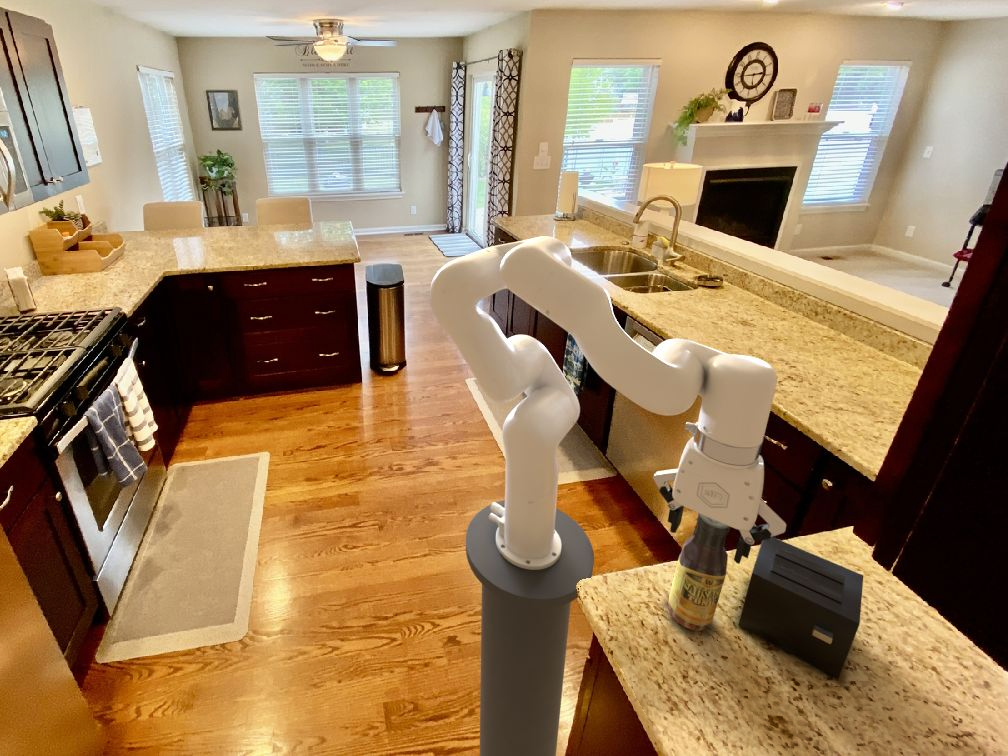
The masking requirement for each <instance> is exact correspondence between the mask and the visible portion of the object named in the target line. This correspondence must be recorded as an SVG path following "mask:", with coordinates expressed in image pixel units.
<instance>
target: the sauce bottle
mask: <svg viewBox="0 0 1008 756" xmlns="http://www.w3.org/2000/svg"><path fill="white" fill-rule="evenodd" d="M696 521H697V526H696V529H695V531H694V535H691V536H689V537H688V538H687V539H685V541H683V544H682V548H681V552H680V554H679V556H678V560H677V562H676V563H677V564H676V567H675V571H674V574H673V575H674V576H673V579H672V582H671V587H670V590H669V595H668V612H669V613H670V616H671V617H672V618H673V619H674V620H675V621H676V623H678V624H679V625H681V626H683V628H686V629H688V630H690V631H691V630H692V631H694V632H696V631H697V632H700V631H704V630H706V629H708V628H709V627H710V624H711V623H712V622H713V620H714V618H715V617H714V616H715V613H716V610H717V606H718V602H719V600H720V597H721V592H722V589H723V586H724V582H725V579H726V576H727V568H728V559H729V558H728V557H729V555H728V553H727V550H726V548H725V544H726V543H725V542H726V538H727V535H728V534H729V533H730V530H731V527H730V526H728V525H725V524H723V523H721V522H718V521H716V520H714V519H711V518H709V517H707V516H704V515H702V514H700V513H698V515H697V517H696Z"/></svg>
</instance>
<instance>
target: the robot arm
mask: <svg viewBox="0 0 1008 756" xmlns="http://www.w3.org/2000/svg"><path fill="white" fill-rule="evenodd" d="M572 261H573V258H572V254H571V251H570V249H569V248H568V246H567V245H566V244H565V243H564V242H563V241H562V240H560V239H558V238H556V237H553V236H549V235H548V236H547V235H542V236H541V235H540V236H536V237H534V238H533V237H532V238H528V239H522V240H519V241H514V242H507V243H503V244H502V243H501V244H498V245H493V246H488V247H486V248H482V249H479V250H477V251H474V252H472V253H469V254H466V255H463V256H460V257H458V258H456V259H454V260H451V261H450V262H448V263H446V264H445V265H443V266H442V267H441V268H440V269H439V270H438V271H437V272H436V274H435V275H434V277H432V278H433V279H432V281H431V282H430V283H431V284H430V287H429V303H430V308H431V311H432V313H433V315H434V317H435V320H437V323H439V325H440V326H441V328H442V329H443V330H444V331H445V333H446V334H447V335H448V336H449V338H450V339H451V340H452V342H453V343H454V344H455V346H456V348H457V349H458V351H459V353H460V355H461V357H462V359H463V360H464V361H465V363H466V365H467V366H468V367H469V370H470V371H471V373H472V374H473V376H474V378H475V379H476V381H477V382H478V384H479V386H480V388H481V389H482V391H483V392H484V393H485V395H486V396H487V397H488V398H489V399H490V400H492V401H494V402H495V403H499V404H505V403H506V404H507V403H510V402H511V401H513V400H515V399H516V398H518V397H519V396H521V395H522V394H523V393H524V394H525V396H526V397H525V398H524V399H522V400H521V401H520V402H519V403H518V404H517V405H516V406H515V407H514V408H513V409H512V410H511V411H510V412H509V414H508V415H507V416H506V418H505V420H504V422H503V425H502V428H501V429H502V430H501V435H502V442H503V448H504V452H505V453H504V454H505V487H504V500H505V508H503V507H502V506H501V505H499V504H497V503H496V502H495V501H493V502H492V503H491V504H490V505H491V507H490V511H492V512H494V513H496V514H497V515H500V516H502V517H501V518H499V517H498V516H497V515H495V514H493V513H490V515H489V519H490V520H492V521H493V522H496V523H497V524H498V526H499V527H498V529H497V532H496V545H497V548H498V550H499V552H500V553H501V554H502V556H503V557H504V558H505V559H506V560H508V561H509V562H510V563H512V564H514V565H516V566H518V567H521V568H524V569H530V570H540V569H545V568H547V567H550V566H552V565H553V564H554V563H556V561H557V560H558V559H559V557H560V555H561V547H562V544H561V539H560V537H559V535H558V533H557V532H556V531H555V516H556V508H557V504H558V503H557V501H558V489H559V463H558V459H557V449H558V447H559V445H560V443H562V441H563V439H565V437H566V436H567V434H568V433H569V432H570V430H572V428H573V427H574V425H575V424H577V421H578V420H579V417H580V413H581V406H580V402H579V401H580V400H579V398H578V397H577V395H576V392H575V390H574V389H573V387H572V386H571V385H570V382H569V381H568V380H567V377H565V374H564V373H563V372H562V370H561V369H560V367H559V365H558V364H557V363H556V361H555V359H554V358H553V356H552V355H551V353H550V352H549V350H548V349H547V347H545V345H544V344H542V342H541V341H540V340H537V338H535V337H532V336H530V335H527V334H515V335H512V336H510V337H508V338H507V337H506V336H505V334H504V333H503V331H502V329H501V328H500V325H498V323H497V321H496V320H495V319H494V317H492V316H491V315H490V314H488V313H487V312H486V311H484V310H483V309H482V308H480V307H478V304H479V302H480V301H482V300H483V299H486V298H489V297H490V296H492V295H494V294H496V293H498V292H500V291H502V290H507V289H508V290H509V291H510V292H511V293H512V294H514V295H515V296H517V297H518V298H519V299H521V300H522V301H524V302H525V303H526V304H527V305H529V306H531V307H532V308H534V309H535V310H536V311H538V312H539V313H541V314H542V315H543V316H545V317H547V318H548V319H549V320H550V321H552V322H553V323H555V324H556V325H557V326H559V327H560V328H561V329H563V330H564V331H565V332H567V333H569V334H570V336H572V338H573V340H574V342H575V343H576V345H577V347H578V349H579V350H580V353H581V354H582V355H583V356H584V357H585V359H586V361H587V362H588V363H589V365H590V366H591V368H592V369H593V371H594V372H596V374H597V375H598V376H599V377H600V378H601V379H602V380H603V381H604V382H605V383H607V384H608V385H609V386H611V388H613V389H614V390H616V391H617V392H619V394H621V395H622V396H624V397H626V398H627V399H628V400H630V401H631V402H633V403H634V404H635V405H637V406H639V407H640V408H642V409H644V410H646V411H648V412H650V413H653V414H655V415H656V414H657V415H659V416H666V417H667V416H668V417H669V416H671V417H672V416H678V415H680V414H683V413H685V412H686V411H687V410H689V409H691V407H692V406H693V404H694V403H695V401H696V400H697V398H698V396H700V397H701V404H700V409H699V414H698V419H697V421H696V422H690V421H686V423H685V425H684V431H685V432H688V433H689V434H691V435H692V437H690V439H689V440H688V441H687V442H686V445H685V447H684V449H683V451H682V453H681V456H680V459H679V463H678V467H677V468H673V469H672V468H671V469H665V470H658V471H655V472H654V474H653V475H652V479H653V481H654V483H655V485H656V486H657V488H658V489H659V490H658V491H659V494H660V495H661V496H662V497H663V499H664V500H665V502H666V506H667V508H668V509H669V511H668V512H669V513H668V517H667V522H668V523H669V524H670V530H669V532H670V533H672V534H676V533H677V532H678V529H679V527H680V525H681V523H682V520H683V513H684V508H686V509H688V510H691V511H693V512H695V513H698V514H699V513H700V514H702V515H704V516H707V517H709V518H711V519H714V520H716V521H718V522H721V523H723V524H725V525H728V526H730V528H733V529H735V530H738V531H739V533H740V536H739V539H738V541H737V545H736V549H735V553H734V558H733V561H734V562H735V564H738V565H740V563H741V560H742V558H743V557H744V558H746V559H749V556H750V552H751V549H752V546H753V545H754V544H755V542H762V540H767V539H770V538H771V537H776V536H779V535H781V534H784V533H786V529H787V523H786V522H785V521H784V520H783V519H782V518H781V517H780V516H779V515H778V514H777V513H776V512H775V511H773V509H772V508H771V507H770V506H768V504H766V503H765V501H764V500H763V499H762V497H763V490H764V484H765V483H764V482H765V463H764V459H763V456H762V455H760V454H761V450H762V446H763V442H764V438H765V434H766V429H767V426H768V425H767V424H768V422H769V417H770V413H771V408H772V406H773V405H772V404H773V400H774V397H775V393H776V390H777V384H778V376H777V375H778V374H777V372H776V370H775V368H774V367H772V366H771V365H770V364H769V363H768V362H765V361H764V360H761V359H759V358H756V357H753V356H748V355H745V354H733V353H727V352H723V351H721V350H717V349H714V348H712V347H710V346H706V345H704V344H701V343H699V342H695V341H693V340H689V339H686V338H679V337H678V338H677V337H676V338H675V337H674V338H669V339H666V340H664V341H662V342H660V343H659V344H658V345H657V346H656V347H655V348H654V349H653V351H652V352H651V351H649V350H647V349H646V348H644V347H643V346H641V344H639V343H637V342H636V341H635V340H634V339H633V338H631V337H630V335H628V334H627V332H625V330H624V329H623V328H622V327H621V325H620V324H619V322H618V321H617V318H616V316H615V314H614V310H613V305H612V301H611V297H610V295H609V294H610V293H609V292H608V290H607V289H606V288H604V287H603V286H602V285H600V284H599V283H597V282H595V281H593V280H591V279H590V278H589V277H587V276H585V274H582V273H581V272H580V271H578V270H577V269H574V268H573V267H572V265H573V264H572V263H573V262H572ZM669 482H673V487H672V486H671V485H670V484H669ZM758 515H759V516H760V517H761V518H762V519H763V520H764V522H766V523H765V524H759V525H757V524H756V521H757V518H758Z"/></svg>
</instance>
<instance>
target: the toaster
mask: <svg viewBox="0 0 1008 756" xmlns="http://www.w3.org/2000/svg"><path fill="white" fill-rule="evenodd" d="M863 586H864V575H863V574H861V573H858V572H856V571H854V570H852V569H850V568H847V567H844V566H843V565H841V564H840V565H839V564H837V563H835V562H833V561H830V560H828V559H826V558H823V557H821V556H818V555H816V554H815V553H812V552H809V551H807V550H804V549H802V548H799V547H797V546H795V545H793V544H790V543H788V542H786V541H783V540H781V539H778V538H776V537H775V536H772V537H771V538H770V539H767V540H762V541H761V543H760V547H759V550H758V552H757V555H756V559H755V562H754V565H753V568H752V571H751V575H750V579H749V582H748V586H747V591H746V594H745V597H744V602H743V606H742V609H741V612H740V617H739V620H738V624H737V625H738V627H740V628H742V629H743V630H746V631H747V632H749V633H751V634H753V635H755V636H757V637H758V638H760V639H761V640H764V641H766V642H768V643H769V644H771V645H773V646H774V647H776V648H779V649H780V650H782V651H784V652H786V653H788V654H790V655H791V656H793V657H795V658H797V659H799V660H800V661H803V662H804V663H806V664H808V665H810V666H811V667H814V668H815V669H817V670H819V671H821V672H822V673H825V674H826V675H828V676H830V677H832V678H834V679H835V680H837V681H839V680H840V676H841V675H842V672H843V669H844V666H845V664H846V661H847V658H848V656H849V654H850V650H851V648H852V646H853V643H854V640H855V638H856V635H857V632H858V629H859V627H860V624H861V614H862V613H861V611H862V600H863V599H862V598H863Z"/></svg>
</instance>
